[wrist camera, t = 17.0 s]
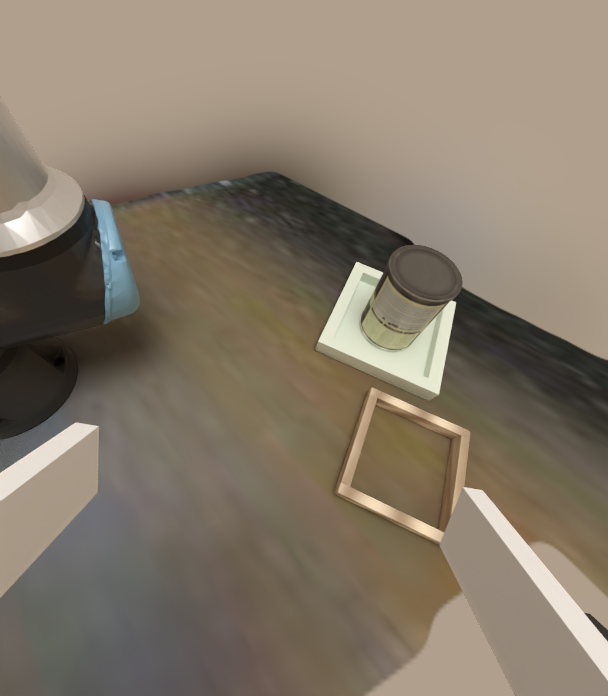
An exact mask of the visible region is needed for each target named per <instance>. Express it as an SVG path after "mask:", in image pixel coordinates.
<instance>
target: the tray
mask: <svg viewBox="0 0 608 696" xmlns="http://www.w3.org/2000/svg"><path fill="white" fill-rule="evenodd" d="M382 274H383V272H380V271H378V270H375V269H373V268H370V267H368V266H365V265H363V264H361V263H358V262H356V264H355V266H354V268H353V270H352V272H351V274H350V276H349V279H348V281H347V283H346V285H345V287H344V289H343V291H342V293H341V295H340V297H339V299H338V301H337V303H336V305H335V308H334V310H333V312H332V314H331V316H330V318H329V320H328V322H327V324H326V326H325V328H324V330H323V332H322V335H321V337H320V339H319V341H318V343H317V346H316V349H315V351H317V352H320V353H322V354H324V355H326V356H329V357H331V358H333V359H335V360H338V361H340V362H342V363H344V364H347V365H349V366H351V367H353V368H356V369H358V370H360V371H362V372H365V373H367V374H369V375H371V376H374V377H376V378H378V379H380V380H383V381H385V382H387V383H389V384H392V385H394V386H396V387H398V388H401V389H403V390H405V391H407V392H410V393H412V394H414V395H416V396H419V397H421V398H423V399H425V400H428V401H429V400H431V399H433V398H434V397H436V396H437V395H439V391H440V385H441V380H442V375H443V369H444V364H445V359H446V354H447V348H448V343H449V338H450V332H451V327H452V322H453V316H454V311H455V306H456V302H454V301H450V302H449V303H448V304H447V305H446V306H445V308H444V309H443V310H442V311H441V312H440V313H439V314H438V315H437V316H436V317H435V318H434V320H433V321H432V322H431V323H430V324H429V325H428V326H427V327H426V328H425V329H424V330H423V331H422V333H421V334H420V335H419V336H418V337H417V338H416V339H415V340H414V341H413V342H412V344H411V345H410V346H409V347H408V348H407V349H405V350H402V351H398V352H388V351H383V350H380V349H378V348H377V347H375V346H373V345H372V344H370V343H369V342H368V341H367V340H366V338H365V337H364V336H363V334H362V332H361V329H360V324H359V322H360V316H361V314H362V312H363V311H364V309H365V307H366V305H367V303H368V301H369V299H370V298H371V296H372V294H373V292H374V290H375V288H376V286H377V284H378V282H379V280H380V278H381V276H382Z"/></svg>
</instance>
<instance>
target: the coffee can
mask: <svg viewBox="0 0 608 696" xmlns="http://www.w3.org/2000/svg"><path fill="white" fill-rule="evenodd" d="M461 288H462V277H461V274H460V272H459V270H458V269H457V267H456V266H455V264H454V263H453V262H452V261H451V260H450V259H449V258H448V257H446V256H445V255H443V254H442V253H440V252H438V251H436V250H434V249H432V248H429V247H426V246H421V245H407V246H403V247H400V248H399V249H397V250H396V251H394V252H393V254H392V255H391V257H390V259H389V261H388V265H387V267H386V269H385V271H384V272H383V274H382V276H381V278H380V280H379V282H378V284H377V286H376V288H375V290H374V292H373V294H372V296H371V298H370V299H369V301H368V303H367V305H366V307H365V309H364V311H363V312H362V314H361V316H360V322H359V324H360V329H361V332H362V334H363V336H364V337H365V338H366V340H367V341H368V342H369V343H370V344H372V345H373V346H375V347H377V348H378V349H380V350H383V351H388V352H398V351H402V350H405V349H407V348H408V347H409V346H410V345H411V344H412V342H413V341H414V340H415V339H416V338H417V337H418V336H419V335H420V334H421V333H422V331H423V330H424V329H425V328H426V327H427V326H428V325H429V324H430V323H431V322H432V321H433V320H434V318H435V317H436V316H437V315H438V314H439V313H440V312H441V311H442V310H443V309H444V308H445V306H446V305H447V304H448V303H449V302H450V301H451V300H453V299H454V298H455V297H456V296H457V295H458V294H459V292H460V291H461Z"/></svg>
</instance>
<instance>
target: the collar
mask: <svg viewBox="0 0 608 696" xmlns="http://www.w3.org/2000/svg"><path fill="white" fill-rule="evenodd" d="M375 405H377V406H379V407H382V408H384V409H386V410H388V411H390V412H393V413H395V414H397V415H399V416H401V417H404V418H406V419H408V420H410V421H412V422H415V423H417V424H419V425H421V426H423V427H426V428H428V429H430V430H432V431H435V432H437V433H439V434H441V435H443V436H446V437H448V438H450V439H452V440H451V446H450V453H449V460H448V467H447V473H446V480H445V487H444V493H443V500H442V507H441V514H440V520H439V527H438V529H436V528H434V527H432V526H429V525H427V524H425V523H423V522H421V521H419V520H417V519H415V518H413V517H411V516H409V515H407V514H405V513H403V512H401V511H398V510H396V509H394V508H392V507H390V506H388V505H386V504H384V503H382V502H380V501H378V500H376V499H374V498H372V497H370V496H368V495H365V494H363V493H361V492H359V491H357V490H355V489H353V488H351V487H350V485H351V481H352V478H353V475H354V472H355V469H356V465H357V462H358V459H359V456H360V452H361V449H362V446H363V443H364V439H365V436H366V433H367V430H368V427H369V423H370V420H371V417H372V414H373V410H374V407H375ZM469 440H470V431H468V430H466V429H464V428H461V427H459V426H457V425H455V424H452V423H450V422H448V421H446V420H444V419H441V418H439V417H437V416H435V415H432V414H430V413H428V412H426V411H423V410H421V409H419V408H417V407H415V406H412V405H410V404H408V403H406V402H403V401H401V400H399V399H397V398H394V397H392V396H390V395H388V394H386V393H383V392H381V391H379V390H377V389H374V388H371V389H370V390H369V391H368V392H367V394H366V397H365V400H364V403H363V406H362V409H361V412H360V415H359V418H358V421H357V424H356V427H355V430H354V433H353V436H352V439H351V442H350V445H349V448H348V451H347V454H346V457H345V460H344V463H343V466H342V469H341V472H340V475H339V478H338V481H337V484H336V487H335V490H334V494H336V495H338V496H340V497H342V498H344V499H346V500H348V501H350V502H352V503H354V504H356V505H358V506H360V507H362V508H365V509H367V510H369V511H371V512H373V513H375V514H377V515H379V516H381V517H383V518H385V519H387V520H389V521H391V522H393V523H395V524H397V525H399V526H401V527H403V528H405V529H407V530H409V531H412V532H414V533H416V534H418V535H420V536H422V537H424V538H426V539H428V540H430V541H432V542H434V543H436V544H438V545H440V542H441V540H442V537H443V535H444V532H445V530H446V527H447V525H448V522H449V520H450V517H451V515H452V513H453V510H454V508H455V505H456V503H457V500H458V498H459V495H460V493H461V490H462V488H463V487H464V483H465V475H466V466H467V457H468V449H469Z"/></svg>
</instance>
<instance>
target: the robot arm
mask: <svg viewBox="0 0 608 696" xmlns="http://www.w3.org/2000/svg"><path fill="white" fill-rule="evenodd" d="M139 305H140V297H139V293H138V289H137V285H136V282H135V279H134V275H133V272H132V269H131V265H130V262H129V259H128V255H127V252H126V249H125V246H124V243H123V240H122V236H121V233H120V230H119V227H118V224H117V221H116V218H115V215H114V213H113V210H112V208H111V205H110V204H109V203H108V202H106V201H101V200H100V201H99V200H96V199H92V200H91V201H89V202H88V201H87V199H86V197H85V195H84V194H83V192H82V190H81V188H80V187H79V185H78V184H77V183H76V182H75V180H74V179H72V178H71V177H70V176H69V175H67V174H65V173H63V172H61V171H59V170H56V169H54V168H52V167H49V166H47V165H44V164H42V162H41V160H40V159H39V157H38V155H37V154H36V152H35V151H34V149H33V148H32V146H31V144H30V143H29V141H28V140H27V138H26V136H25V135H24V133H23V132H22V130H21V128H20V127H19V126H18V124H17V122H16V121H15V119H14V117H13V116H12V114H11V113H10V111H9V109H8V108H7V106H6V105H5V103H4V101H3V100H2V98H1V97H0V439H4V438H8V437H11V436H14V435H17V434H20V433H22V432H25V431H27V430H29V429H31V428H33V427H35V426H36V425H38V424H40V423H41V422H43V421H44V420H46V419H47V418H48V417H49V416H51V415H52V414H53V413H54V412H55V411H56V410H57V409H58V408H59V407H60V406H61V405H62V404H63V403H64V401H65V400H66V399H67V397H68V396H69V394H70V393H71V391H72V389H73V387H74V384H75V381H76V378H77V361H76V358H75V356H74V354H73V352H72V351H71V350H70V348H69V347H68V346H66V345H65V344H64V343H63V342H62V341H60V340H59V339H58V338H57V337H55V336H59V335H63V334H67V333H70V332H74V331H78V330H82V329H86V328H90V327H94V326H98V325H102V324H108V323H109V322H110V321H112V320H115V319H118V318H121V317H124V316H127V315H130V314H132V313H134V312H135V311H136V310H137V309H138V307H139ZM98 447H99V426H94V425H88V424H82V423H74V424H73V425H71V426H70V427H68V428H67V429H65V430H64V431H62V432H61V433H59V434H58V435H56V436H55V437H53V438H52V439H50V440H49V441H47V442H46V443H44V444H43V445H41V446H40V447H38V448H37V449H35V450H34V451H32V452H31V453H29V454H28V455H26V456H25V457H23V458H22V459H20V460H19V461H17V462H16V463H14V464H13V465H11V466H10V467H8V468H7V469H5V470H4V471H2V472H1V473H0V598H1V597H2V596H3V594H4V593H5V592H6V591H7V590H8V589H9V588H10V587H11V586H12V585H13V584H14V583H15V581H16V580H17V579H18V578H19V577H20V576H21V575H22V574H23V573H24V572H25V571H26V570H27V568H28V567H29V566H30V565H31V564H32V563H33V562H34V561H35V560H36V559H37V558H38V557H39V555H40V554H41V553H42V552H43V551H44V550H45V549H46V548H47V547H48V546H49V545H50V544H51V543H52V541H53V540H54V539H55V538H56V537H57V536H58V535H59V534H60V533H61V532H62V531H63V530H64V528H65V527H66V526H67V525H68V524H69V523H70V522H71V521H72V520H73V519H74V518H75V517H76V515H77V514H78V513H79V512H80V511H81V510H82V509H83V508H84V507H85V506H86V505H87V504H88V502H89V501H90V500H91V499H92V498H93V497H94V496H95V495H96V494H97V493H98ZM440 547H441V549H442V551H443V553H444V555H445V557H446V559H447V561H448V563H449V565H450V567H451V569H452V571H453V573H454V575H455V577H456V579H457V581H458V583H459V585H460V587H461V589H462V591H463V593H464V595H465V597H466V599H467V601H468V603H469V605H470V607H471V609H472V611H473V613H474V615H475V617H476V619H477V621H478V622H479V625H480V627H481V629H482V631H483V633H484V635H485V637H486V638H487V641H488V643H489V645H490V646H491V649H492V650H493V653H494V654H495V656H496V658H497V660H498V662H499V664H500V666H501V668H502V670H503V672H504V674H505V676H506V678H507V680H508V682H509V684H510V686H511V688H512V690H513V692H514V694H515V696H608V630H607V629H606V628H605V627H604V626H603V625H601V624H600V623H599V622H598V621H597V620H596V619H595V618H594V617H593V616H591V615H590V614H587V613H584V612H583V611H582V610H581V609H580V608H579V606H578V605H577V604H576V603H575V602H574V601H573V599H572V598H571V597H570V596H569V594H568V593H567V592H566V591H565V590H564V588H563V587H562V586H561V585H560V584H559V582H558V581H557V580H556V579H555V577H554V576H553V575H552V574H551V573H550V571H549V570H548V569H547V568H546V567H545V565H544V564H543V563H542V562H541V561H540V559H539V558H538V557H537V556H536V554H535V553H534V552H533V551H532V550H531V548H530V547H529V546H528V545H527V544H526V542H525V541H524V540H523V539H522V538H521V536H520V535H519V534H518V533H517V532H516V530H515V529H514V528H513V527H512V526H511V524H510V523H509V522H508V521H507V519H506V518H505V517H504V516H503V515H502V513H501V512H500V511H499V510H498V509H497V507H496V506H495V505H494V504H493V503H492V501H491V500H490V499H489V498H488V497H487V495H486V494H485V493H484V492H483V490H477V489H471V488H465V487H463V488H462V490H461V493H460V495H459V498H458V500H457V503H456V505H455V508H454V510H453V513H452V515H451V517H450V520H449V522H448V525H447V527H446V530H445V532H444V535H443V537H442V540H441V542H440Z"/></svg>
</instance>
